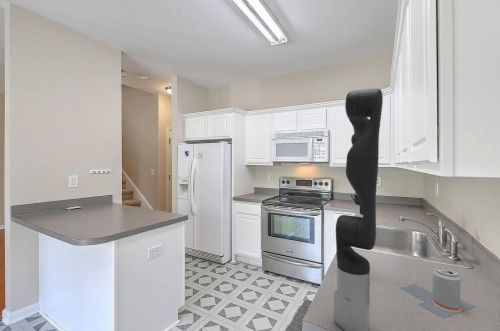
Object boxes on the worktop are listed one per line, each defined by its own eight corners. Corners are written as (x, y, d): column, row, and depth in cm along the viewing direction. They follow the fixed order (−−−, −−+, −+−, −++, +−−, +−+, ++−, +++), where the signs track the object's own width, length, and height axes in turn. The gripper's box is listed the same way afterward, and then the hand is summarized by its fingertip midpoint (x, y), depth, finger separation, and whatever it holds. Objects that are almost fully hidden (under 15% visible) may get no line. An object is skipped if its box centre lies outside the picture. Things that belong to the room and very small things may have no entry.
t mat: (443, 319, 75) (443, 317, 75) (391, 290, 91) (391, 289, 91) (475, 307, 81) (475, 306, 81) (421, 282, 98) (421, 282, 98)
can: (466, 311, 78) (466, 275, 78) (442, 309, 79) (442, 274, 79) (449, 298, 86) (449, 266, 86) (427, 297, 86) (427, 265, 86)
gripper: (359, 177, 99) (358, 217, 99) (381, 176, 103) (381, 215, 103) (346, 176, 106) (345, 214, 106) (367, 176, 110) (367, 212, 110)
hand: (363, 214), depth 105 cm, fingers closed
